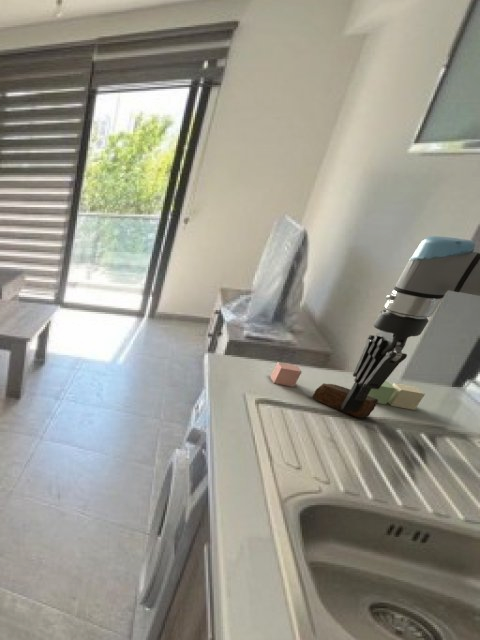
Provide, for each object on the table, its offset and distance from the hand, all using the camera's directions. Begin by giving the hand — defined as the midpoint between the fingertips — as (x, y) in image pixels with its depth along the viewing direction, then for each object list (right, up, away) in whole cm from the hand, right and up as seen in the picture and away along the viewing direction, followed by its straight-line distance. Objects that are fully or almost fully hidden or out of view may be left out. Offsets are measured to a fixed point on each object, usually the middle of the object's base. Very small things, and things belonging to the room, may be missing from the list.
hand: (348, 409), depth 113 cm
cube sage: (+15, +3, +10) cm, 18 cm away
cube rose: (-2, +7, +17) cm, 18 cm away
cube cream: (+20, +1, +8) cm, 22 cm away
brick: (+2, 0, +5) cm, 5 cm away
